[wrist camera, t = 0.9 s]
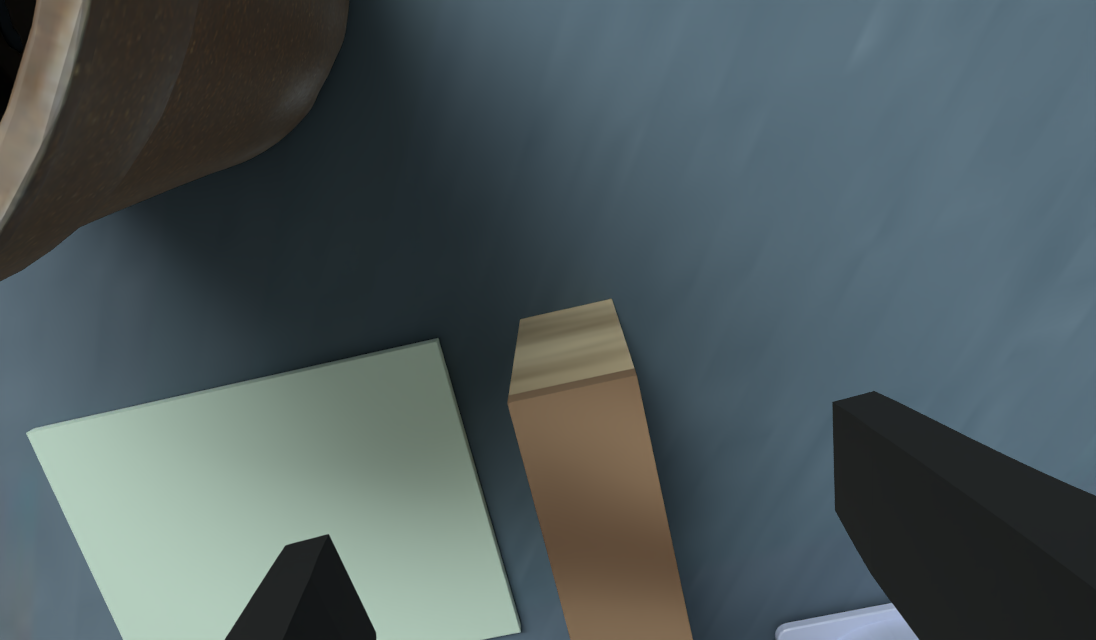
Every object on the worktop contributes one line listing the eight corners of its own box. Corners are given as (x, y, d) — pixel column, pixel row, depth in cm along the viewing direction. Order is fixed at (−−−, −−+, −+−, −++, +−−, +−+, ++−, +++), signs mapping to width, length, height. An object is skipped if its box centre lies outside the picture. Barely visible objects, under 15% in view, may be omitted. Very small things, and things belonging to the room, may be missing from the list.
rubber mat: (520, 624, 28) (520, 632, 28) (158, 695, 29) (153, 703, 29) (438, 338, 25) (436, 341, 24) (33, 428, 26) (26, 432, 25)
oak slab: (665, 548, 27) (706, 705, 20) (582, 565, 27) (593, 726, 20) (611, 298, 25) (636, 375, 17) (520, 318, 25) (507, 403, 18)
